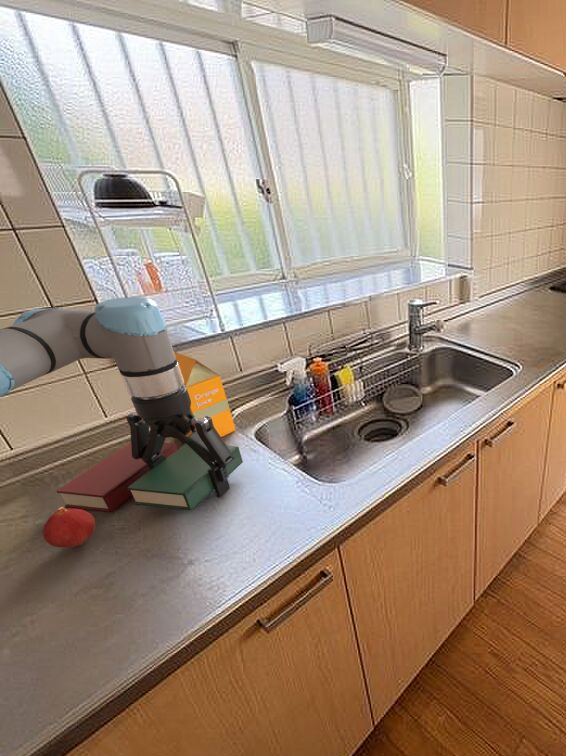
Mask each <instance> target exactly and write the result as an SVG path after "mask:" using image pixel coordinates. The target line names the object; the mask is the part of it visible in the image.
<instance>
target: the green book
mask: <svg viewBox="0 0 566 756" xmlns="http://www.w3.org/2000/svg"><path fill="white" fill-rule="evenodd" d="M226 446H227V447H228V449H229V450H230V452H231V453H232V455H233V456H234V458H235V459H234V460H233V461H232V462H231V463H230V464H229V465H228V466H227V467H226V468H227V471H228V474H229V476H230V475H231V474H232V473H233V472H234V471H235V470H236V469H238V467H239V466H241V465H242V464H243V462H244V461H243V457H242V453H241V451H240V447H239V446H238V445H228V444H226ZM177 449H178V450H177V451H175V452H174V453H173V454H171V455H170V456H169V457H167V458H166V459H165V460H163V461H162V462H161V463H159V464H158V465H157V466H155V467H154V468H153V469H151V470H150V471H149V472H147V473H146V474H145V475H143V476H142V477H141V478H139V479H138V480H137V481H135V482H134V483H133V484H131V485H130V486H129V487H127V488H128V490H131V492H132V494H133V497H132V498H133V499H134V501H135V502H134V505H136V506H143V507H150V508H151V507H152V508H160V509H170V510H180V511H189V512H192V511H193V510H194V509H195V508H196V507H197V506H199V504H201V503H202V502H203V501H204V500H205V499H206V498H207V497H208V496H209V495H210V494H211V493H213V492H214V491H215V490H214V487H213V484H212V481H211V478H210V476H209V473H208V469H210V468H211V467H210V466H209V465H208V464H207V463H206V462H205V461H204V460H203V459H202V458H201V457H200V456H199V455H198V454H196V453H195V452H194V451H193V450H192V449H191V448H190V447H189V446H188V445H187V444H183V445H182V446H180V447H179V448H177ZM215 462H216V460H215Z"/></svg>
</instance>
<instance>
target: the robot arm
mask: <svg viewBox="0 0 566 756" xmlns="http://www.w3.org/2000/svg"><path fill="white" fill-rule="evenodd" d="M167 327H168V325H167V321H165V319H164V317H163V315H162V313H161V311H160V308H159V306H158V304H157V302H156V301H154V300H152V299H151V298H148V297H143V296H130V297H115V298H111V299H106V300H103V301H101V302H98V303H97V304H96V305H95V307H94V310H83V309H65V308H62V307H61V308H58V307H48V308H35V309H34V308H33V309H29V310H26V311H24V312H22V313H21V314H19V316H18V317H17V319H15V320H14V321H13V323H12V325H10V326H7V327H4V328H1V329H0V398H2V397H3V396H6V395H7V394H9V393H10V392H11V391H13V390H16V389H18V388H20V387H23V386H24V385H26V384H29V383H31V382H32V381H34V380H37V379H39V378H41V377H44V376H46V375H49V374H51V373H54V372H55V371H58V370H60V369H62V368H65V367H67V366H68V365H71V364H72V363H75V362H77V361H79V360H82V359H99V360H100V359H102V360H111V359H113V360H114V362H115V364H116V366H117V369H118V371H119V373H120V377H121V379H122V381H123V383H124V386H125V389H126V392H127V394H128V395H129V396H131V398H130V400H131V402H132V405H133V407H134V410H135V411H134V412H133V413H131V414H129V415H128V416H126V417H125V418H126V421H127V424H128V426H129V428H130V430H129V431H130V443H131V448H132V457H133V458H134V459H139V458H140V459H143V461H144V462H145V463H147V465H148V467H149V469H150V470H151V469H153V468H154V467H155V466H157V465H158V464H159V463H161V462H162V461H163V460H165V459H166V457H165V456H162V455H161V456H160V457H158V456H159V455H160V454H161V453H163V452H162V451H161V450H162V447H163V444H164V442H165V441H166V439H167V438H172V439H176V440H178V441H179V442H180V443H181V444H183V445H185V444H187V445H188V446H189V447H190V448H191V449H192V450H193V451H194V452H195V453H196V454H198V455H199V456H200V457H201V458H202V459H203V460H204V461H205V462H206V463H207V464H208V465H209V466H210V467H211V468H210V469H208V473H209V476H210V478H211V481H212V484H213V487H214V490H213V491H214V492H215V496H216V498H222V497H223V496H224V495H225V494H226V493H227V492H228V491H229V490H230V489H231V485H230V483H229V480H228V479H229V477H230V475H229V474H228V471H227V468H226V467H227V466H228V465H229V464H230V463H231V462H232V461H233V460H234V459H235V458H234V456H233V455H232V453H231V452H230V450H229V449H228V447H227V446H226V445H227V444H226V443H225V441H224V440H223V438H222V437H220V435H219V434H218V432H217V431H216V429H215V428H214V426H213V422H212V419H211V417H209V416H205V417H204V418H195V416H194V415H193V414H192V413H191V411H190V406H191V399H190V396H189V393H188V390H187V387H186V386H185V385H184V379H183V376H182V373H181V370H180V367H179V364H178V362H177V359H176V357H175V354H174V352H175V351H174V347H173V344H172V341H171V337H170V334H169V331H168V328H167ZM190 431H192V434H190V435H189V436H188V437H186V436H185V435H187V434H188V433H189V432H190ZM215 460H216V462H215Z"/></svg>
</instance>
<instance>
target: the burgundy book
mask: <svg viewBox="0 0 566 756" xmlns="http://www.w3.org/2000/svg"><path fill="white" fill-rule="evenodd" d="M178 449H179V448H178V446H177V444H176V443H173V442H165V441H164V444H163V447H162V450H161V451H162V452H163V453H161V454H160V455H159V456H158V457H160V456H161V455H162V456H165V457H166V458H167V457H169V456H170V455H171V454H173V453H174V452H175V451H177V450H178ZM149 471H150V469H149V467H148V465H147V463H145V462H144V461H143V459H140V458H139V459H134V458H133V457H132V448H131V442H129V443H127V444H126V445H125V446H123V447H121V448H120V449H118V450H116V451H115V452H114V453H112V454H111V455H109V456H108V457H106V458H104V459H103V460H101V461H100V462H98V463H96V464H95V465H94V466H92V467H91V468H89V469H88V470H86V471H85V472H83V473H82V474H80V475H78V476H77V477H75V478H74V479H72V480H71V481H69V482H67V483H66V484H64V485H63V486H61V487H59V488H58V489H57V490H56V493H57V494H60V496H61V498H62V500H63V501H64V503H65V505H64V508H65V509H70V508H73V509H82V510H84V511H94V512H95V511H97V512H104V513H114V512H115V511H117V510H118V509H119V508H120V507H122V506H123V505H124V504H125V503H127V502H128V501H129V500H131V499H132V498H134V497H133V494H132V492H131V490H128V488H127V487H129V486H130V485H131V484H133V483H134V482H135V481H137V480H138V479H139V478H141V477H142V476H143V475H145V474H146V473H147V472H149Z"/></svg>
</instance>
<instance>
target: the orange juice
mask: <svg viewBox="0 0 566 756" xmlns="http://www.w3.org/2000/svg"><path fill="white" fill-rule="evenodd" d="M174 354H175V357H176V359H177V362H178V364H179V367H180V370H181V373H182V376H183V379H184V385H185V386H186V387H187V390H188V393H189V396H190V399H191V406H190V411H191V413H192V414H193V415H194V416H195V418H204V417H205V416H209V417H211V419H212V422H213V426H214V428H215V429H216V431H217V432H218V434H219V435H220V437H221V438H222V437H224V436H226V435H229V434H231V433H232V432H235V431H236V425H235V422H234V419H233V416H232V412H231V409H230V408H231V407H230V405H229V402H228V401H229V400H228V399H227V395H226V392H225V389H224V386H223V382H222V378H221V375H219V374H218V373H216V372H215V371H214V370H212V369H210V368H209V367H207V366H206V365H204V364H203V363H201V362H200V361H199V360H197V359H195V358H192V357H190V356H187V355H185V354H182V353H178V352H176V351H174ZM190 434H192V431H190V432H189V433H188V434H187V435H185V436H186V437H188V436H189V435H190Z"/></svg>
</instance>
